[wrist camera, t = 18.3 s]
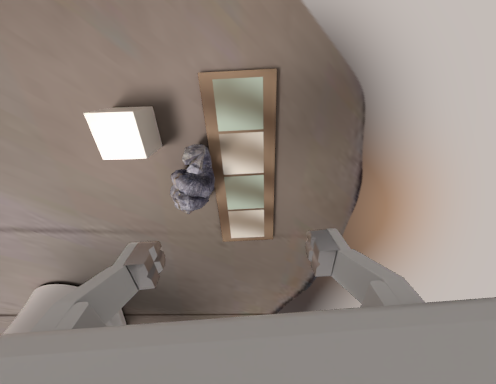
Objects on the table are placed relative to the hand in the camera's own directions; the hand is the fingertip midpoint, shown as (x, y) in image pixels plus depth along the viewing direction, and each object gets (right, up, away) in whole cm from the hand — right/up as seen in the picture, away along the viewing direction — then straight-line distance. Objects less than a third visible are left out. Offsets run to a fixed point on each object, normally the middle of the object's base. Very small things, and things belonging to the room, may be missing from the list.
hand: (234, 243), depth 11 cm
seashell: (-3, +7, +10) cm, 13 cm away
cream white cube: (-12, +10, +12) cm, 20 cm away
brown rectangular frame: (0, +5, +15) cm, 16 cm away
